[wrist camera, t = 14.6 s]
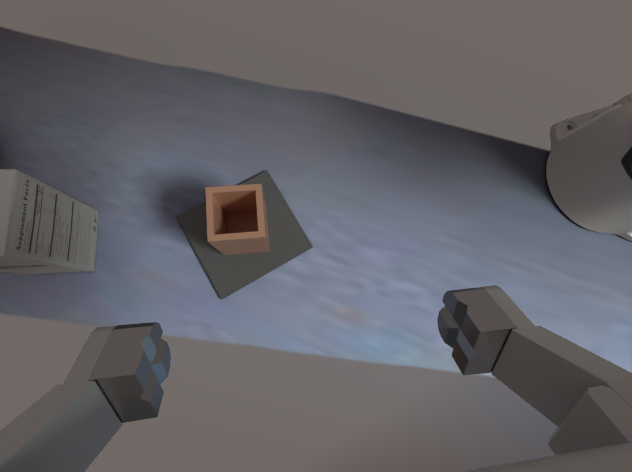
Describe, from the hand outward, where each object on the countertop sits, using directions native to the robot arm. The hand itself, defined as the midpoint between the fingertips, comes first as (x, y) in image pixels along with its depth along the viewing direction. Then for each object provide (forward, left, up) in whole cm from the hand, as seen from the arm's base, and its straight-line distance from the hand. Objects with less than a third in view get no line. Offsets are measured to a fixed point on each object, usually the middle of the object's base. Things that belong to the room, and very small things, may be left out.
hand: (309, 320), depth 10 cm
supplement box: (+18, -19, -30) cm, 40 cm away
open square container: (0, -10, -29) cm, 31 cm away
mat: (0, -10, -29) cm, 31 cm away
